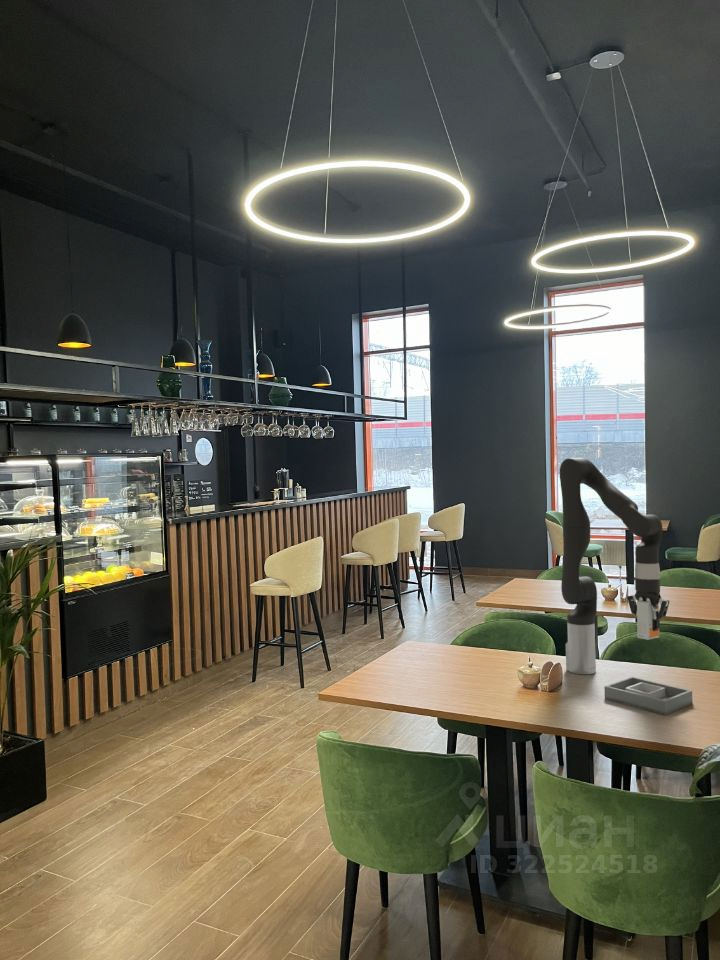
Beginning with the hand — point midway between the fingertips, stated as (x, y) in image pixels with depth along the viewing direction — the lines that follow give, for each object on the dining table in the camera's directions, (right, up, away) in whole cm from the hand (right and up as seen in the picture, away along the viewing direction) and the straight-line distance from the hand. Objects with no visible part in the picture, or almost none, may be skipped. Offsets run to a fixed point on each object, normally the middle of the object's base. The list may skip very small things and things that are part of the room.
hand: (648, 628), depth 232 cm
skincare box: (0, -3, 0) cm, 3 cm away
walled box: (-5, -19, -13) cm, 24 cm away
